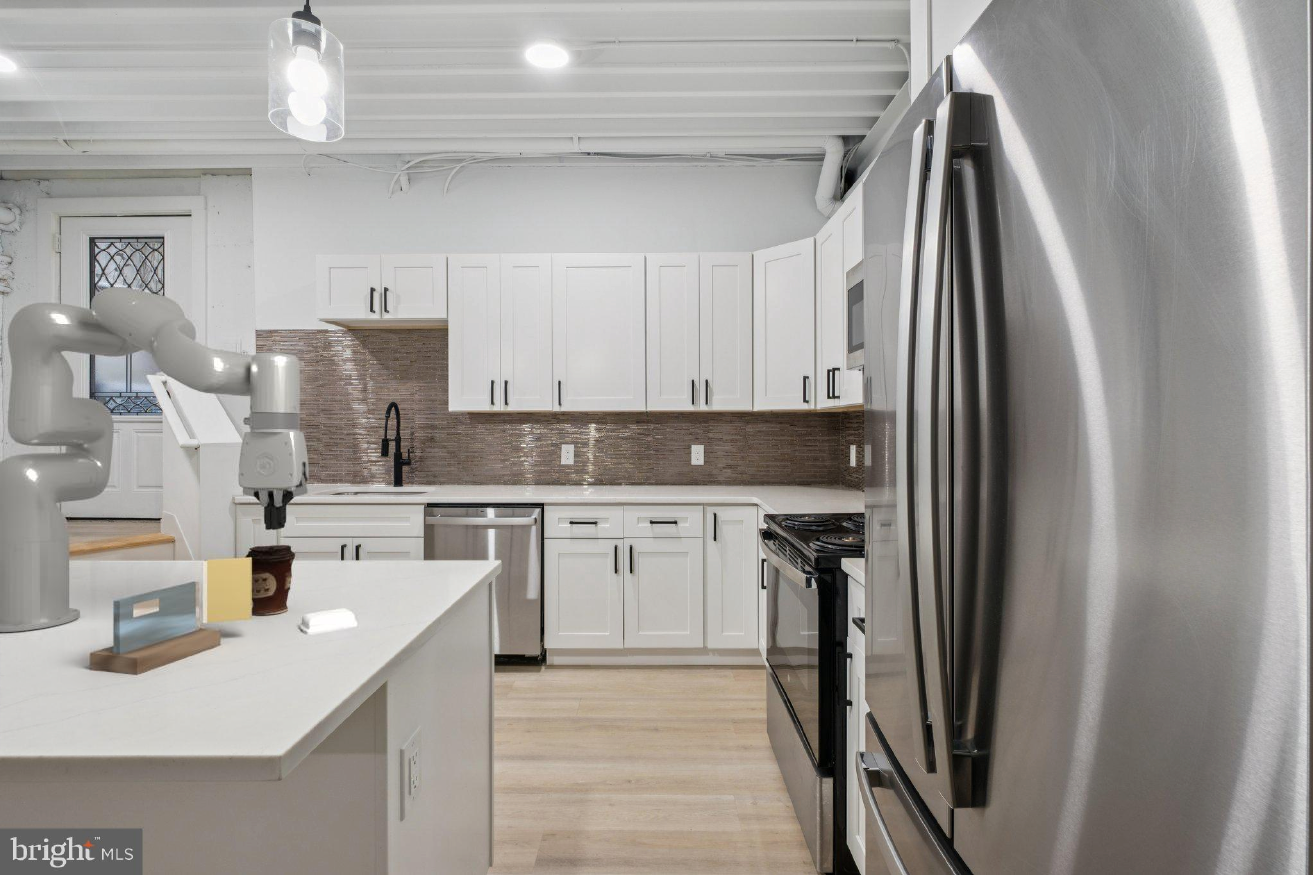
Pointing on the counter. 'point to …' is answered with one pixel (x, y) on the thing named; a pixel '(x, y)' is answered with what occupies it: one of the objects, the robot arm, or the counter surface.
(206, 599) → the yellow flat slab
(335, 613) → the soap
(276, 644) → the counter surface
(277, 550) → the coffee cup
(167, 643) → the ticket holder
